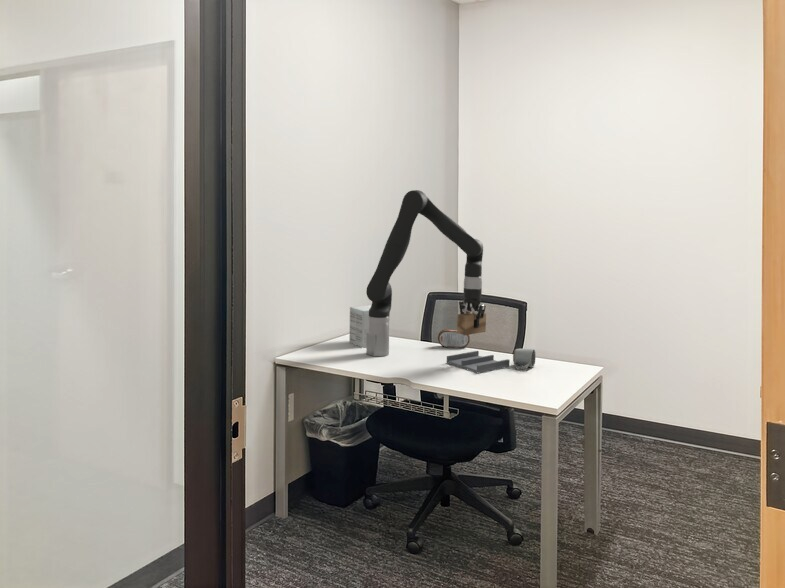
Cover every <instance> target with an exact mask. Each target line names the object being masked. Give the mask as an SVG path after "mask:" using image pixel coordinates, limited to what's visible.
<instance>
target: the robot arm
mask: <svg viewBox="0 0 785 588" xmlns="http://www.w3.org/2000/svg"><path fill="white" fill-rule="evenodd" d="M419 215H422V216H423V217H425V218H426V219H427V220H428V221H430V222H431V223H432V224H433V225H434V226H435V227H436V229H437V230H438V231H439V232H440V233H441V234H442V235H444V236H445V237H446V238H447V239H449V240H450V241H451V242H452V243H454V244H455V245H456V246H457V247H458V248H459V249H460V250H461V251H462V252H464V253H465V254H466V262H465V265H464V278H463V279H464V280H463V296H462V297H463V298H464V300H460V301H458V307H459V314H465V313H472V314H473V315H474V328H478V327H479V319H481V318H483V317H484V313H485V311H486V306H487V305H486V304H482V303H481V299H482V293H483V291H482V290H483V281H482V275H483V274H482V271H483V270H482V266H483V265H482V263H483V257H484V256H483V255H484V245H483V242H482V241H481V240H479V239H477V238H474V237H473V236H471V235H470V234H469V233H468V232H467V231H466V230H465V228H463V226H461V225H460V224H459V223H457V222H456V221H454V219H453V218H451V217H449V216H448V215H447V214H446V213H444V212H443V211H442V210H441V209H439V208H438V206H436V205H435V204H434V203H433V202H432V201H431V200H430V198H429V197H428V196H427V195H426V193H424V192H423V191H422V190H417V189H416V190H415V189H414V190H413V189H412V190H410V191H408V192H406V193H405V194H404V196H403V198H402V201H401V205H400V208H399V212H398V216H397V217H396V221H395V223H394V225H393V227H392V229H391V231H390V233H389V236H388V238H387V240H386V242H385V245H384V249H383V251H382V254H381V256H380V258H379V261H378V264H377V266H376V268H375V271H374V274H373V276H371V279H370V281H369V283H368V284H367V286H366V290H365V291H366V293H365V294H366V296H367V299H368V300H369V301H371V308H370V309H369V329H368V333H367V339H366V347H365V348H366V350H365V353H366V355H368V356H372V357H386V356H389V354H390V312H391V309H392V300H393V299H392V298H393V290H392V286H391V285H392V284H391V283H390V279H391V277H392V275H393V274H394V272H395V271H396V269H397V268H398V267H399V265H400V264H401V263H402V261H403V259H404V257H405V255H406V253H407V251H408V249H409V245H410V242H411V238H412V237H411V236H412V229H413V227H414V223H415V221H416V219H417V217H418V216H419ZM476 314H477V316H476Z"/></svg>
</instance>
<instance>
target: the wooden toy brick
mask: <svg viewBox="0 0 785 588" xmlns="http://www.w3.org/2000/svg"><path fill="white" fill-rule="evenodd" d="M476 316H477V314H476ZM456 317H457V318H456V330H457V333H458V334H462V335H469V336H470V335H476V334H481V333H486V328H487V327H486V326H487V325H486V324H487V323H486V322H487V313H485V312H484V317H483V318H481V319H479V327H478V328H474V315H473V314H472V312H471V313H465V314H460V313H459V314H458V313H457V316H456Z"/></svg>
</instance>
